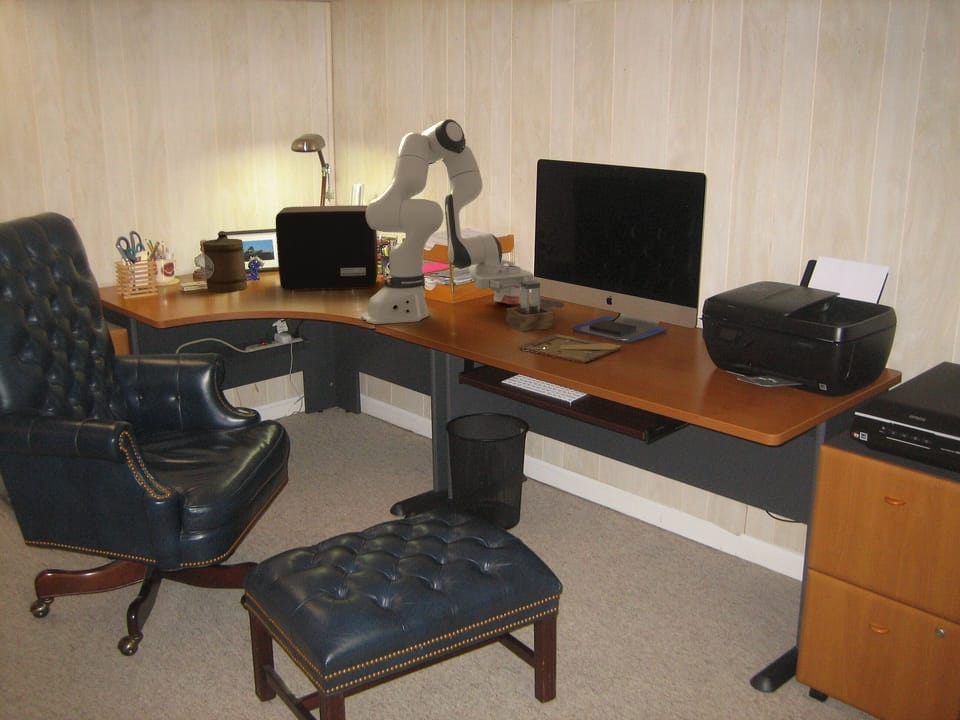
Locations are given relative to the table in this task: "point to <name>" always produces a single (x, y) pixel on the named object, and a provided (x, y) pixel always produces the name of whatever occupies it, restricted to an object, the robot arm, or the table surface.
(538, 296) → the grey lantern
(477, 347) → the table surface
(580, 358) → the picture frame
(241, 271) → the wooden container
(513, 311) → the box
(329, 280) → the radio
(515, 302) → the ink cartridge box
